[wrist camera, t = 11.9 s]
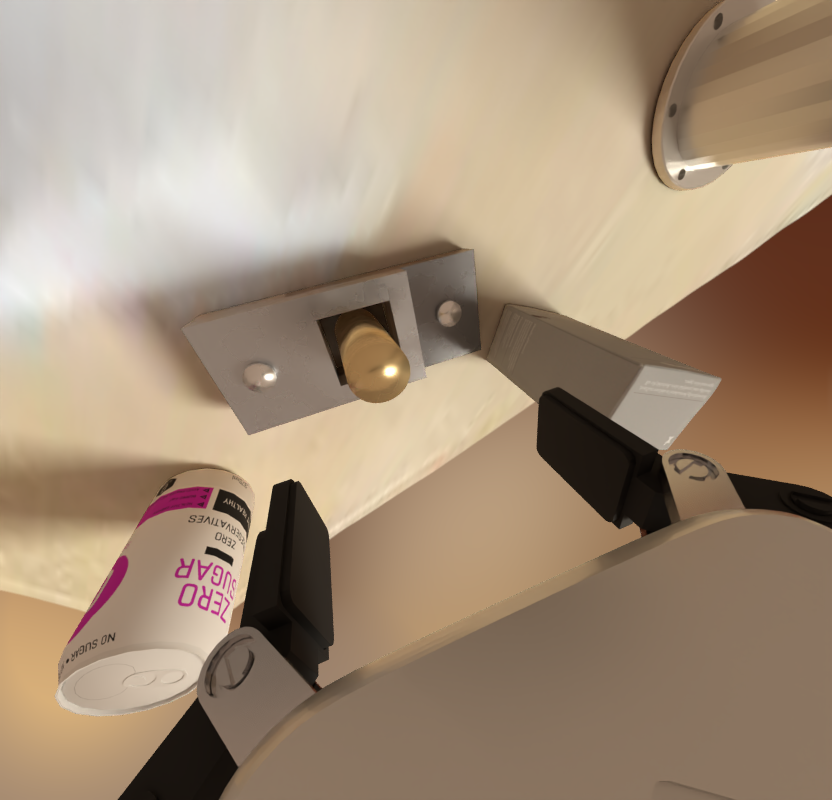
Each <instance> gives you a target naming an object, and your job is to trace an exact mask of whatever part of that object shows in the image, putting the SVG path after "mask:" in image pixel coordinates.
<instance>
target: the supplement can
mask: <svg viewBox="0 0 832 800" xmlns="http://www.w3.org/2000/svg"><path fill="white" fill-rule="evenodd" d="M254 499H255V494H254V492H253V490H252V488H251V486H250V484H249V483H247V482H246V481H245V480H244V479H242V478H241V477H240V476H238V475H236V474H233V473H230V472H227V471H225V470H219V469H209V468H208V469H207V468H205V469H197V470H190V471H186V472H183V473H181V474H178V475H176V476H173V477H171V478H170V479H169V480H168V481H167V482H166V483H164V484H163V485H162V486H161V487H160V489H159V490H158V492H157V494H156V495H155V497H154V499H153V500H152V502H151V504H150V506H149V507H148V509H147V511H146V512H145V514H144V516H143V517H142V519H141V521H140V522H139V524H138V526H137V527H136V529H135V531H134V532H133V534H132V536H131V538H130V539H129V541H128V543H127V544H126V546H125V548H124V549H123V551H122V553H121V554H120V556H119V558H118V559H117V561H116V563H115V565H114V566H113V568H112V570H111V571H110V573H109V575H108V576H107V578H106V580H105V581H104V583H103V585H102V586H101V588H100V590H99V591H98V593H97V595H96V597H95V598H94V600H93V602H92V603H91V605H90V607H89V608H88V610H87V612H86V613H85V615H84V617H83V618H82V620H81V622H80V624H79V625H78V627H77V629H76V630H75V632H74V634H73V635H72V637H71V639H70V640H69V642H68V644H67V645H66V647H65V649H64V651H63V654H62V656H61V659H60V661H59V664H58V669H59V670H58V672H59V673H58V675H59V687H58V689H57V692H56V694H55V698H56V700H57V702H58V704H59V705H60V707H62V708H64V709H66V710H69V711H71V712H73V713H75V714H83V715H91V716H112V715H124V714H130V713H135V712H140V711H145V710H149V709H152V708H155V707H158V706H161V705H164V704H167V703H170V702H172V701H174V700H176V699H178V698H180V697H182V696H184V695H186V694H188V693H190V692H191V691H192V690H194V689H195V688H196V687H197V682H198V678H199V675H200V672H201V669H202V667H203V665H204V663H205V661H206V659H207V657H208V655H209V654H210V653H211V652H212V650H213V649H214V648H215V646H216V645H217V644H218V643H219V642H220V641H221V640H222V639H223V638H224V637H225V636H227V635H228V630H229V625H230V620H231V616H232V611H233V606H234V601H235V596H236V591H237V586H238V581H239V577H240V572H241V567H242V562H243V557H244V552H245V547H246V542H247V538H248V533H249V528H250V523H251V518H252V513H253V508H254Z"/></svg>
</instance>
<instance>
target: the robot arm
mask: <svg viewBox="0 0 832 800" xmlns="http://www.w3.org/2000/svg"><path fill="white" fill-rule="evenodd" d="M831 147H832V0H777V1H776V0H724V1H722V2H720V3H719V4H718V5H716V6H715V7H714V8H712V9H711V10H710V11H709V12H707V13H706V15H705V16H704V17H703V18H702V19H701V20H700V21H699V22H698V23H697V24H696V25H695V27H694V28H693V29H692V31H691V32H690V34H689V35H688V36H687V38H686V39H685V41H684V42H683V44H682V46H681V47H680V49H679V51H678V53H677V55H676V56H675V58H674V60H673V62H672V64H671V66H670V69H669V71H668V73H667V76H666V78H665V80H664V83H663V86H662V89H661V92H660V95H659V99H658V102H657V106H656V111H655V116H654V121H653V131H652V154H653V159H654V165H655V168H656V170H657V173H658V175H659V177H660V178H661V180H662V181H663V182H664V184H665V185H667V186H668V187H670V188H671V189H675V190H679V191H682V190H693V189H697V188H701V187H704V186H706V185H708V184H710V183H712V182H713V181H715V180H716V179H717V178H719V177H720V176H721V175H723V174H724V173H725V172H726V171H727V170H728V169H729V168H730V167H731V166H732V165H733V164H736V163H742V162H748V161H754V160H760V159H766V158H772V157H778V156H784V155H789V154H795V153H801V152H807V151H813V150H819V149H825V148H831ZM537 432H538V433H537V451H538V453H539V455H540V456H541V457H542V458H543V459H544V460H545V461H546V462H547V463H548V464H549V465H550V466H551V467H552V468H553V469H554V470H555V471H556V472H557V473H558V474H559V475H560V476H561V477H562V478H563V479H564V480H565V481H566V482H567V483H568V484H569V485H570V486H571V487H572V488H573V489H574V490H576V492H577V493H578V494H579V495H581V496H582V498H583V499H584V500H585V501H586V502H588V503H589V504H590V505H591V506H592V507H593V508H594V509H595V510H596V511H597V512H598V513H599V514H600V515H601V516H602V517H603V518H604V519H605V520H606V521H608V522H612V523H613V524H614V525H615V526H616V527H617V528H619V529H621V528H623V527H626V526H628V525H630V524H632V523H633V522H634V523H635V524H636V525H637V526H639V528H640V533H641V538H639V539H637V540H635V541H632V542H630V543H628V544H626V545H623V546H621V547H619V548H617V549H615V550H612V551H610V552H608V553H606V554H604V555H601V556H599V557H597V558H595V559H593V560H590V561H588V562H586V563H584V564H582V565H579V566H577V567H575V568H573V569H570V570H568V571H566V572H564V573H562V574H559V575H557V576H555V577H553V578H551V579H549V580H546V581H545V582H542V583H540V584H538V585H536V586H533V587H531V588H529V589H527V590H525V591H523V592H520V593H518V594H516V595H514V596H511V597H509V598H507V599H505V600H503V601H501V602H498V603H497V604H494V605H492V606H490V607H488V608H486V609H483V610H481V611H479V612H477V613H475V614H472V615H471V616H468V617H466V618H464V619H462V620H460V621H457V622H455V623H453V624H451V625H449V626H447V627H445V628H442V629H440V630H438V631H436V632H434V633H432V634H429V635H427V636H425V637H423V638H421V639H419V640H417V641H415V642H412V643H410V644H408V645H406V646H404V647H402V648H400V649H398V650H396V651H394V652H392V653H389V654H388V655H385V656H384V657H381V658H379V659H377V660H375V661H373V662H371V663H369V664H367V665H365V666H363V667H361V668H359V669H357V670H355V671H353V672H351V673H349V674H347V675H346V676H344V677H342V678H340V679H338V680H336V681H335V682H333V683H331V684H329V685H327V686H326V687H324V688H322V687H321V686H320V685H319V684H318V683H317V682H316V681H315V680H316V679H317V677H318V664H320V663H322V662H324V661H326V660H329V648H328V647H329V646H332V645H333V642H334V632H333V610H332V589H331V568H330V548H329V534H328V530H327V528H326V526H325V524H324V522H323V520H322V519H321V517H320V515H319V514H318V512H317V510H316V508H315V507H314V505H313V503H312V502H311V500H310V498H309V497H308V495H307V493H306V491H305V490H304V488H303V486H302V485H301V483H300V482H299V481H297V482H294V481H293V480H292V479H290V480H287V481H284V482H281V483H278V484H276V485H274V486H273V489H272V495H271V501H270V507H269V513H268V519H267V526H266V530H265V531H262V532H260V533H259V534H258V536H257V540H256V545H255V550H254V555H253V561H252V566H251V571H250V576H249V582H248V587H247V592H246V598H245V603H244V609H243V614H242V619H241V625H240V628H239V629H236V630H234V631H233V632H231V633H230V634H228V635H227V636H225V637H224V638H223V639H222V640H221V641H220V642H219V643H218V644H217V645H216V646H215V648H214V649H213V650H212V652H211V653H210V654H209V655H208V657H207V659H206V661H205V663H204V665H203V667H202V669H201V672H200V675H199V678H198V682H197V695H198V697H197V699H196V700H195V701H194V703H193V704H192V705H191V706H190V708H189V709H188V710H187V711H186V713H185V714H184V715H183V717H182V718H181V719H180V720H179V722H178V723H177V724H176V726H175V727H174V728H173V729H172V731H171V732H170V733H169V735H168V736H167V737H166V738H165V740H164V741H163V742H162V744H161V745H160V746H159V747H158V749H157V750H156V751H155V753H154V754H153V755H152V757H151V758H150V759H149V760H148V762H147V763H146V764H145V765H144V767H143V768H142V769H141V771H140V772H139V773H138V774H137V776H136V777H135V778H134V780H133V781H132V782H131V784H130V785H129V786H128V787H127V788H126V790H125V791H124V793H123V794H122V795H121V796H120V797H119V799H118V800H832V497H831V496H829V495H827V494H825V493H823V492H820V491H817V490H814V489H812V488H809V487H805V486H800V485H796V484H789V483H784V482H778V481H772V480H766V479H760V478H755V477H749V476H743V475H737V474H732V473H726V471H725V470H724V468H723V467H722V466H721V465H720V464H719V463H718V462H716V461H715V460H714V459H712V458H710V457H708V456H706V455H704V454H701V453H698V452H695V451H689V450H672V451H669V452H667V453H665V454H664V455H663V456H661V455H660V454H658V450H659V449H657V448H656V447H654V446H652V445H651V444H649V443H648V442H646V441H644V440H643V439H641V438H640V437H638V436H636V435H635V434H633V433H632V432H630V431H628V430H627V429H625V428H624V427H622V426H621V425H619V424H617V423H616V422H614V421H613V420H611V419H609V418H608V417H606V416H605V415H603V414H601V413H600V412H598V411H597V410H595V409H593V408H592V407H590V406H589V405H587V404H586V403H584V402H582V401H581V400H579V399H578V398H576V397H574V396H573V395H571V394H570V393H568V392H566V391H565V390H563V389H562V388H560V387H556V388H553V389H550V390H547V391H544V392H543V393H542V396H541V397H540V398H539V410H538V429H537Z"/></svg>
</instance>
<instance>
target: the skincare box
mask: <svg viewBox="0 0 832 800" xmlns="http://www.w3.org/2000/svg"><path fill="white" fill-rule="evenodd" d="M487 361H488V362H489V363H491V364H492V365H493V366H494V367H495V368H497V369H498V370H499V371H500V372H501V373H503V374H504V375H505V376H506V377H507V378H508V379H510V380H511V381H512V382H513V383H514V384H515V385H517V386H518V387H519V388H520V389H521V390H523V391H524V392H525V393H526V394H527V395H528V396H530V397H531V398H532V399H533V400H534V401H536V402H537V403H538V404H539V398H540V397H541V396H542V393H543V392H544V391H547V390H550V389H553V388H556V387H560V388H562V389H563V390H565V391H566V392H568V393H570V394H571V395H573V396H574V397H576V398H578V399H579V400H581V401H582V402H584V403H586V404H587V405H589V406H590V407H592V408H593V409H595V410H597V411H598V412H600V413H601V414H603V415H605V416H606V417H608V418H609V419H611V420H613V421H614V422H616V423H617V424H619V425H621V426H622V427H624V428H625V429H627V430H628V431H630V432H632V433H633V434H635V435H636V436H638V437H640V438H641V439H643V440H644V441H646V442H648V443H649V444H651V445H652V446H654V447H656V448H657V449H659V450H667V449H668V448H669V447H670V446H671V444H672V443H673V442H674V440H675V439H676V438H677V436H678V435H679V434H680V433H681V432H682V430H683V429H684V428H685V427H686V425H687V424H688V423H689V422H690V420H691V419H692V418H693V417H694V415H695V414H696V413H697V412H698V411H699V410H700V408H701V407H702V406H703V405H704V403H705V402H706V401H707V400H708V399H709V397H710V396H711V395H712V394H713V392H714V391H715V389H716V388H717V386H718V385H719V383H720V381H721V378H719V377H716V376H714V375H711V374H708V373H706V372H703V371H700V370H698V369H695V368H693V367H690V366H688V365H686V364H683V363H681V362H678V361H676V360H673V359H670V358H668V357H665V356H663V355H661V354H658V353H656V352H653V351H651V350H648V349H646V348H643V347H641V346H638V345H636V344H633V343H631V342H628V341H626V340H623V339H621V338H618V337H616V336H613V335H611V334H609V333H606V332H604V331H601V330H599V329H596V328H594V327H591V326H589V325H586V324H584V323H581V322H579V321H577V320H574V319H572V318H569V317H567V316H564V315H560V314H557V313H553V312H549V311H544V310H540V309H536V308H531V307H525V306H519V305H512V304H507V305H506V306H505V308H504V311H503V314H502V317H501V320H500V322H499V325H498V328H497V331H496V334H495V336H494V339H493V342H492V344H491V348H490V350H489V353H488V356H487Z"/></svg>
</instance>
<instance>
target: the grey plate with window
mask: <svg viewBox="0 0 832 800" xmlns="http://www.w3.org/2000/svg"><path fill="white" fill-rule="evenodd" d="M381 302H382V305H383V309H384V314H385V318H386V322H387V326H388V330H389V334H390V336H391V338H392V339H393V340H394V341H395V343H396V344H397V345H398V346H399V348H400V349H401V350H402V351H403V353H404V354H405V355H406V357H407V359H408V361H409V364H410V378H409V381H408V383H411V382H414V381H417V380H420V379H423V378H427V377H426V372H425V367H428V366H431V365H434V364H437V363H440V362H443V361H447V360H450V359H453V358H456V357H459V356H462V355H465V354H469V353H472V352H475V351H478V350H481V343H480V329H479V315H478V302H477V288H476V274H475V261H474V249H459V250H455V251H451V252H447V253H443V254H439V255H436V256H432V257H428V258H424V259H420V260H416V261H412V262H408V263H404V264H400V265H396V266H392V267H388V268H384V269H380V270H376V271H372V272H368V273H364V274H360V275H356V276H352V277H348V278H344V279H340V280H336V281H332V282H328V283H325V284H321V285H317V286H313V287H309V288H305V289H301V290H297V291H293V292H289V293H285V294H281V295H277V296H273V297H269V298H265V299H261V300H257V301H253V302H249V303H245V304H241V305H237V306H233V307H229V308H225V309H221V310H217V311H213V312H210V313H206V314H202V315H199V316H198V317H196V318H195V319H194V320H192V321H191V322H189V323H188V324H187V325H185V326H184V327H182V328H181V330H182V332H183V333H184V335H185V337H186V338H187V340H188V341H189V343H190V344H191V346H192V348H193V349H194V351H195V352H196V354H197V355H198V357H199V358H200V360H201V362H202V363H203V365H204V366H205V368H206V369H207V371H208V373H209V374H210V376H211V377H212V379H213V380H214V382H215V384H216V385H217V387H218V388H219V390H220V391H221V393H222V394H223V396H224V398H225V399H226V401H227V402H228V404H229V405H230V407H231V409H232V410H233V412H234V413H235V415H236V416H237V418H238V420H239V421H240V423H241V424H242V426H243V427H244V429H245V430H246V432H247V434H248V435H251V434H254V433H257V432H260V431H263V430H266V429H269V428H272V427H275V426H279V425H282V424H285V423H288V422H291V421H294V420H297V419H300V418H303V417H306V416H309V415H312V414H316V413H319V412H322V411H325V410H328V409H331V408H334V407H337V406H340V405H343V404H346V403H349V402H353V401H356V400H359V399H360V398H358V397H357V396H356V395H355V394H354V393H353V392H352V391H351V389H350V388H349V385H348V382H347V379H346V375H345V371H344V367H343V366H342V367H339V368H337V367H336V364H335V361H334V358H333V356H332V353H331V350H330V348H329V345H328V342H327V339H326V337H325V334H324V331H323V329H322V326H321V323H320V321H319V319H322V318H326V317H330V316H333V315H337V314H341V313H344V312H348V311H352V310H355V309H359V308H363V307H367V306H370V305H374V304H378V303H381Z"/></svg>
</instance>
